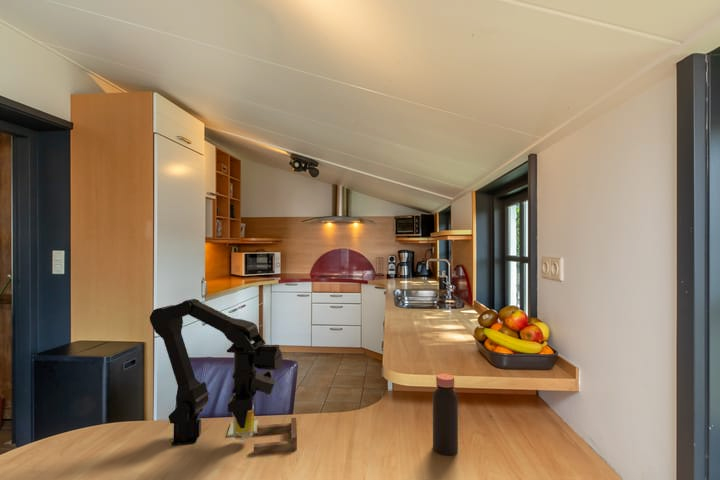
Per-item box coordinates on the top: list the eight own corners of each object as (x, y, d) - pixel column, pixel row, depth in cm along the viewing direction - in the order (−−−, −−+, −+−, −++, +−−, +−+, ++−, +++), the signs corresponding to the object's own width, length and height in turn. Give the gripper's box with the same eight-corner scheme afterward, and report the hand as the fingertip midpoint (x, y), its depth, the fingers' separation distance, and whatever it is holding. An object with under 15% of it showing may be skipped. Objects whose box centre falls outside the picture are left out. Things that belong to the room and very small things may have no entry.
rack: (253, 454, 100) (253, 441, 100) (257, 432, 111) (257, 420, 111) (296, 450, 102) (296, 437, 102) (296, 428, 113) (296, 417, 114)
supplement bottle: (256, 436, 105) (257, 399, 105) (237, 442, 101) (238, 405, 101) (249, 428, 109) (249, 393, 109) (230, 434, 105) (230, 398, 105)
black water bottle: (428, 445, 104) (428, 374, 105) (447, 440, 107) (447, 371, 107) (442, 458, 98) (442, 382, 98) (463, 452, 101) (462, 378, 101)
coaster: (227, 436, 109) (227, 434, 109) (231, 423, 117) (231, 422, 117) (255, 434, 110) (255, 432, 110) (257, 421, 118) (257, 419, 118)
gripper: (272, 377, 98) (271, 437, 97) (274, 356, 116) (274, 406, 116) (227, 380, 95) (226, 441, 95) (237, 358, 114) (236, 409, 114)
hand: (243, 423), depth 105 cm, fingers closed on supplement bottle, 5 cm apart
